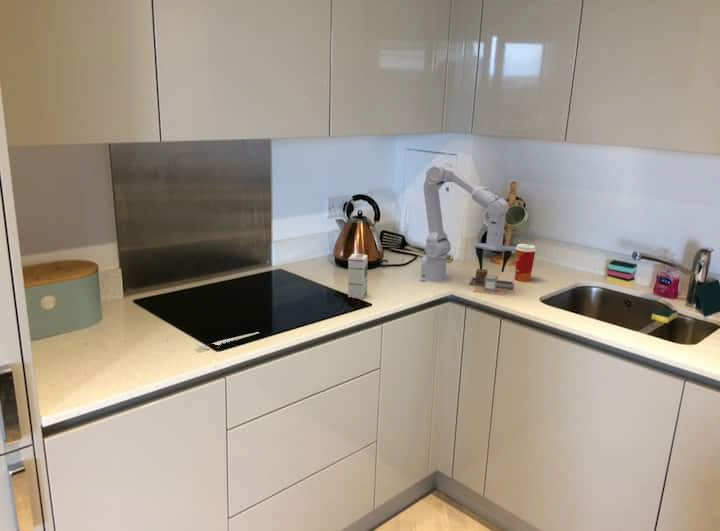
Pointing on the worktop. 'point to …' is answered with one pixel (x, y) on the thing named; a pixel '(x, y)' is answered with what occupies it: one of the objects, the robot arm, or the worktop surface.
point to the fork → (226, 340)
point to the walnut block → (481, 276)
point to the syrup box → (357, 275)
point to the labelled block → (490, 283)
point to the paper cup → (524, 262)
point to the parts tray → (499, 284)
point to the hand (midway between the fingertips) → (491, 270)
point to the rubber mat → (498, 292)
